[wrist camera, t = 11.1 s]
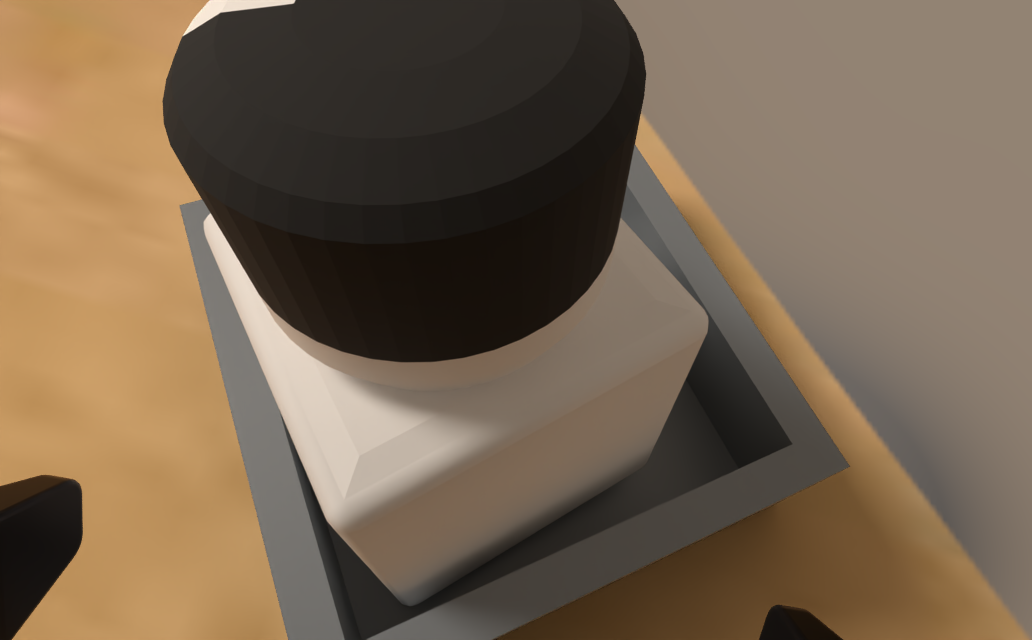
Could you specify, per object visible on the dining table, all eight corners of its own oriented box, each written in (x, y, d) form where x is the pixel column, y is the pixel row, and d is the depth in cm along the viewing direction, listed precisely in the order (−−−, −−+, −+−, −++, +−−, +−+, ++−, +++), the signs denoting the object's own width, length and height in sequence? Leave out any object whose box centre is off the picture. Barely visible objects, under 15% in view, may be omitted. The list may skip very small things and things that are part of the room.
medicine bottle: (651, 465, 17) (844, 70, 7) (406, 615, 15) (171, 370, 5) (514, 278, 20) (507, -172, 10) (299, 381, 18) (29, -50, 8)
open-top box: (775, 503, 19) (850, 466, 15) (342, 713, 15) (309, 727, 12) (581, 179, 24) (603, 97, 21) (225, 283, 21) (179, 205, 17)
